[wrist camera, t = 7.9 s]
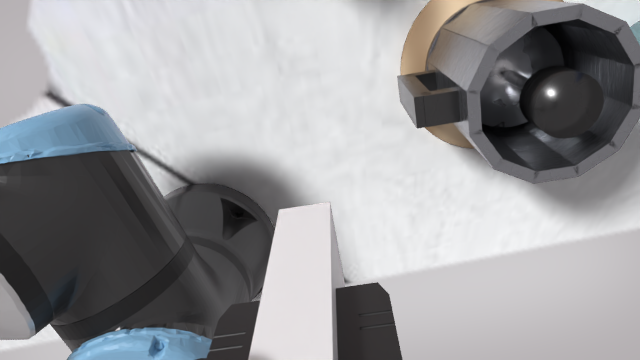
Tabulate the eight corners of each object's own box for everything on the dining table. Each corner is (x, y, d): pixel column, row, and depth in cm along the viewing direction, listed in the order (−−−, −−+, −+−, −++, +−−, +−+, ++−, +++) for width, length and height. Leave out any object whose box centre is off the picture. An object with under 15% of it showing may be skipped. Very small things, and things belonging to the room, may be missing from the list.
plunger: (457, 132, 45) (500, 181, 34) (450, 30, 42) (494, 47, 31) (559, 116, 44) (637, 160, 33) (560, 10, 41) (647, 20, 30)
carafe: (400, 141, 51) (429, 201, 37) (386, 16, 46) (412, 31, 32) (568, 114, 49) (663, 165, 35) (569, -17, 45) (679, -17, 31)
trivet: (409, 158, 52) (410, 160, 51) (390, -11, 46) (391, -11, 45) (574, 132, 51) (576, 134, 50) (577, -46, 44) (580, -46, 44)
